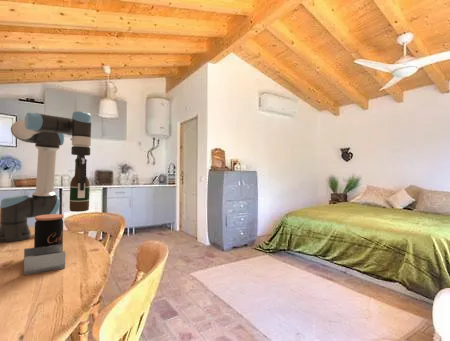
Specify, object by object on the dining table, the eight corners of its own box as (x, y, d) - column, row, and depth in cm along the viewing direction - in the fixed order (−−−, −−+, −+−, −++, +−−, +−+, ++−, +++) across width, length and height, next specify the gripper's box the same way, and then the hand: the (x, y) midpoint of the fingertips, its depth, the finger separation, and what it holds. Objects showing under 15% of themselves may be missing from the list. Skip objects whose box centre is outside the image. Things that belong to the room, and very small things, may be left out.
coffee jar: (48, 261, 111) (49, 219, 111) (27, 258, 113) (28, 217, 113) (68, 253, 121) (69, 214, 121) (48, 251, 123) (49, 213, 123)
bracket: (23, 264, 106) (24, 248, 106) (61, 258, 114) (61, 244, 114) (23, 275, 96) (24, 257, 96) (64, 268, 104) (65, 251, 104)
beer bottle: (68, 212, 113) (69, 156, 113) (70, 209, 120) (72, 157, 120) (88, 211, 116) (89, 157, 116) (89, 208, 123) (91, 158, 123)
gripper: (68, 146, 124) (67, 194, 124) (75, 144, 108) (73, 199, 108) (86, 148, 129) (84, 194, 129) (95, 146, 112) (93, 199, 112)
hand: (79, 196), depth 118 cm, fingers closed on beer bottle, 7 cm apart
